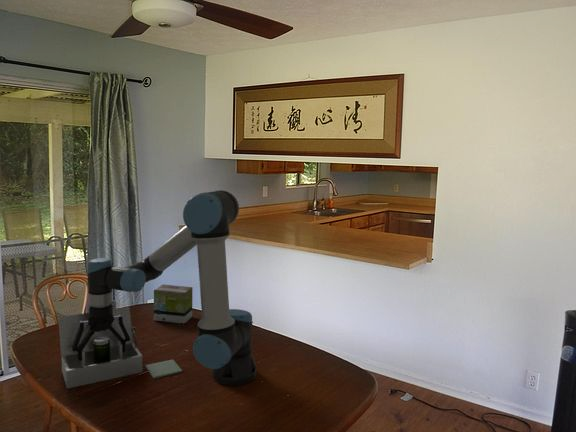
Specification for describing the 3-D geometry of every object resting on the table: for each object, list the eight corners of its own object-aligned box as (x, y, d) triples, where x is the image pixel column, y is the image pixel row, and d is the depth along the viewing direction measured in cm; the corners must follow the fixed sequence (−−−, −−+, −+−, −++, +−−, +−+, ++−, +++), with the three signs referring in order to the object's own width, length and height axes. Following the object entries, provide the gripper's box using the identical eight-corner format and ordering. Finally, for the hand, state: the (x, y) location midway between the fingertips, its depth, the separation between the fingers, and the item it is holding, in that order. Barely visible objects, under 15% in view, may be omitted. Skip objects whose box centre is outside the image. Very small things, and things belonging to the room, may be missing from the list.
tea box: (153, 321, 211) (152, 289, 209) (162, 314, 221) (162, 283, 219) (184, 324, 208) (184, 292, 206) (193, 316, 218) (193, 286, 216)
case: (146, 371, 163) (145, 320, 161) (66, 388, 150) (64, 334, 148) (133, 351, 179) (132, 305, 176) (60, 366, 165) (58, 316, 163)
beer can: (113, 368, 164) (112, 336, 163) (107, 376, 159) (106, 342, 158) (97, 368, 164) (97, 335, 163) (91, 375, 159) (90, 342, 158)
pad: (182, 372, 164) (182, 370, 163) (153, 378, 158) (153, 376, 158) (172, 360, 172) (172, 359, 172) (145, 366, 167) (145, 365, 167)
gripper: (133, 296, 168) (134, 353, 171) (60, 306, 155) (63, 367, 158) (139, 302, 162) (139, 361, 165) (63, 312, 149) (65, 377, 152)
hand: (102, 364), depth 161 cm, fingers open, 11 cm apart
